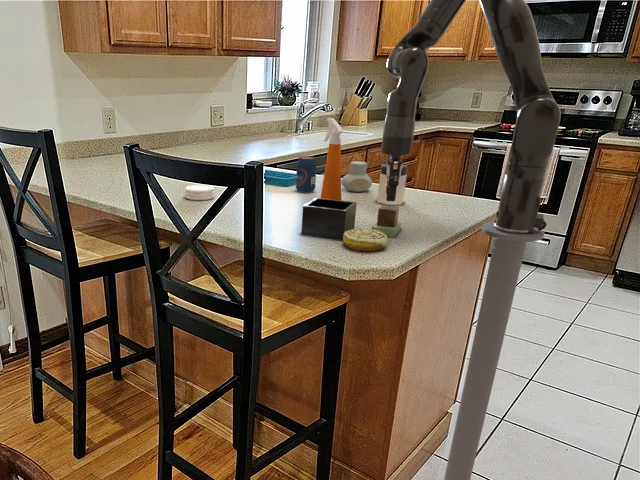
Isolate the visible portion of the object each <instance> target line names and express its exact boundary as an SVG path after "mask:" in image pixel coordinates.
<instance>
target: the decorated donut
mask: <svg viewBox="0 0 640 480" xmlns="http://www.w3.org/2000/svg"><path fill="white" fill-rule="evenodd" d="M388 240H389V238H388V236H386V235H385V234H384V233H382V232H381V231H378V230H373V229H372V228H354V229H351V230H348V231H346V232H345V233H344V235H343V240H342V241H343V242H344V244H345V246H346V247H347V248H348V249H351V250H354V251H363V252H375V251H378V250H380V249H383V248H384V247H386V246H387V244H388Z"/></svg>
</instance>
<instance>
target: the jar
mask: <svg viewBox="0 0 640 480" xmlns="http://www.w3.org/2000/svg"><path fill="white" fill-rule="evenodd" d="M386 169H387V168H386V163H383V164H381V168H380V174H379V183H378V191H377V203H379V204H382V205H386V206H401V205H402V204H403V203H404V200H405V194H406V193H405V191H406V184H407V177H408V166H407V164H403V166H402V169H401V176H400V179H399V185H398V186H397V190H396V197H395V201H387V200H386V198H387V194H386V187H387V180H388V179H387V178H386V177H387V174H386Z"/></svg>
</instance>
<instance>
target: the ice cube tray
mask: <svg viewBox="0 0 640 480" xmlns="http://www.w3.org/2000/svg"><path fill="white" fill-rule="evenodd" d="M264 169H265V168H264ZM296 175H297V173H294V172H286V171H279V170H273V169H272V170H271V169H265V173H264V179H265V181H264V183H263V184H266V185H271V186H272V185H273V186H279V187H290V186H293V185H296Z"/></svg>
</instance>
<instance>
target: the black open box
mask: <svg viewBox="0 0 640 480" xmlns="http://www.w3.org/2000/svg"><path fill="white" fill-rule="evenodd" d="M357 203H358V202H357V201H349V200H342V199H341V200H331V199H322V198H320V197H314V198H313V199H312V200H310V201H308V202H306V203H304V205H302V216H301V236H309V237H316V238H324V239H331V240H332V239H333V240H337V241H344V240H343V235H344V233H345V232H346V231H348V230H351V229H355V225H356V214H357V205H358V204H357Z"/></svg>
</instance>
